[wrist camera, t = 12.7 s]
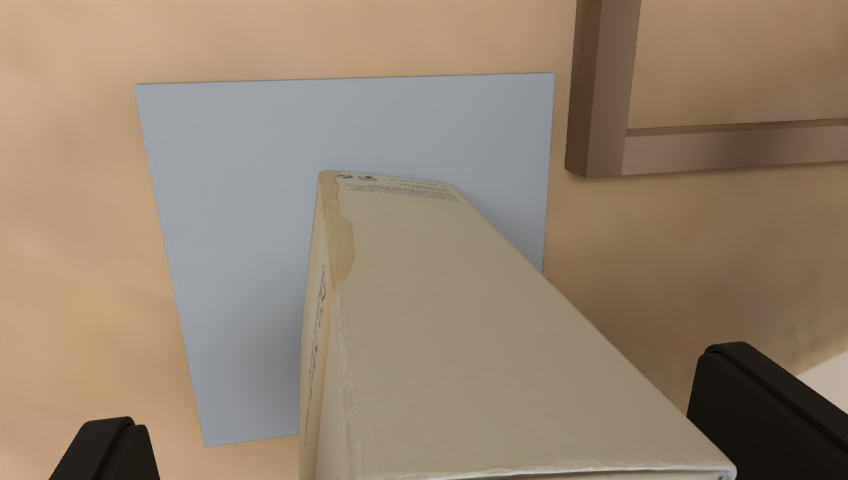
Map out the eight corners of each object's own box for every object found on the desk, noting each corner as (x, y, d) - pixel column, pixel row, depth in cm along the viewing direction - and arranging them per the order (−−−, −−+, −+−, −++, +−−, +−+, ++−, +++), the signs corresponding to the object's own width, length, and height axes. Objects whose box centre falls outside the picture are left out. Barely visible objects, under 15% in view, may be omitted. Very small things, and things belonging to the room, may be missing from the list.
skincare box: (317, 166, 16) (330, 458, 4) (459, 182, 17) (760, 452, 5) (299, 351, 18) (276, 883, 6) (427, 355, 19) (602, 818, 7)
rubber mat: (548, 72, 17) (555, 73, 16) (528, 392, 21) (533, 400, 20) (138, 83, 14) (132, 84, 14) (207, 437, 19) (205, 447, 18)
